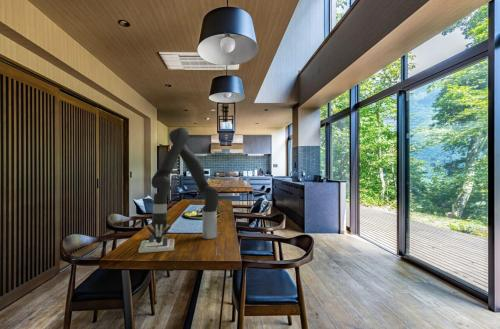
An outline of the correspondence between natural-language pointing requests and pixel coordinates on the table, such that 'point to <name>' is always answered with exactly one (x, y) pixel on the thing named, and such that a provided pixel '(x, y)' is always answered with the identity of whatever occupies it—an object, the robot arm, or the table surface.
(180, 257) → the table surface
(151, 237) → the block
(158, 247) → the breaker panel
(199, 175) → the robot arm
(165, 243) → the block
